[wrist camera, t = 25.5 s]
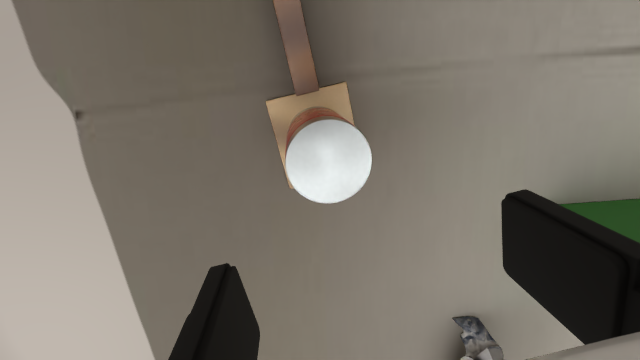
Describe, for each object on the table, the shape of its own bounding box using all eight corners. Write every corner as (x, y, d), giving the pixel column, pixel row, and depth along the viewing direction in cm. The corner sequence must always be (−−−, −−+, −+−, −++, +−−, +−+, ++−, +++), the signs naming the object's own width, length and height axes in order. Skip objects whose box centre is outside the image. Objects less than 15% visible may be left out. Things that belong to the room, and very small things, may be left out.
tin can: (279, 114, 32) (273, 130, 22) (341, 99, 32) (364, 108, 22) (295, 173, 34) (296, 213, 24) (353, 159, 34) (379, 192, 24)
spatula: (232, -19, 28) (221, -36, 24) (322, -40, 28) (328, -62, 24) (290, 187, 35) (289, 203, 31) (361, 169, 35) (372, 182, 31)
